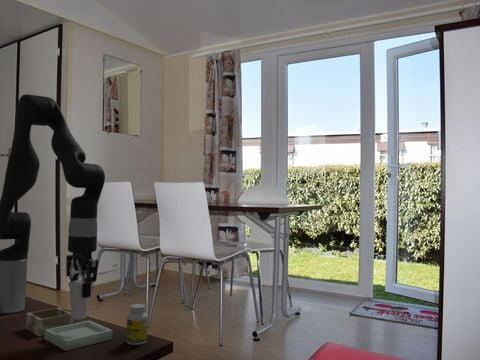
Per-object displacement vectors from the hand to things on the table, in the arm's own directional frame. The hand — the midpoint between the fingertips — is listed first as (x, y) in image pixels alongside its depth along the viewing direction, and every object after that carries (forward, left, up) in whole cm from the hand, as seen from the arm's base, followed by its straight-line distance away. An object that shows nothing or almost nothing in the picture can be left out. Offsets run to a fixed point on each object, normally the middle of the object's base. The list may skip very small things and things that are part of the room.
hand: (80, 294), depth 113 cm
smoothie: (0, 0, -6) cm, 6 cm away
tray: (0, 0, -12) cm, 12 cm away
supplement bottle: (+13, +10, -12) cm, 21 cm away
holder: (-14, -2, -12) cm, 19 cm away
